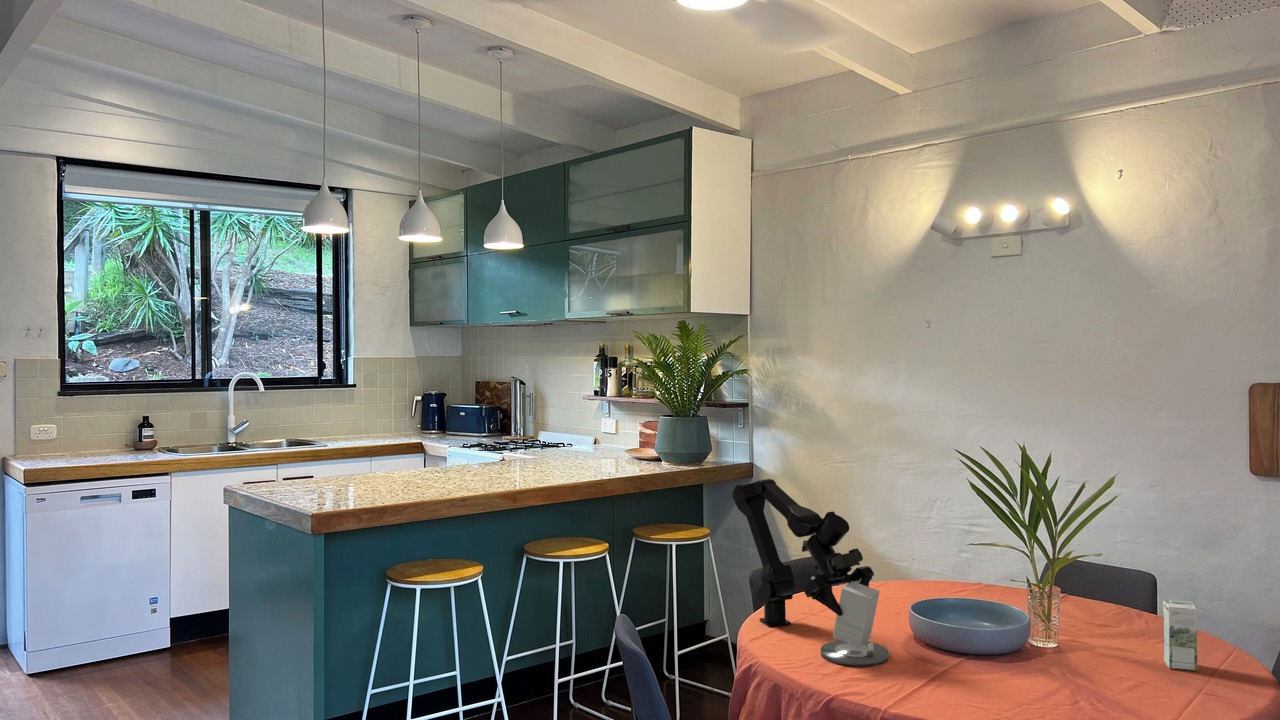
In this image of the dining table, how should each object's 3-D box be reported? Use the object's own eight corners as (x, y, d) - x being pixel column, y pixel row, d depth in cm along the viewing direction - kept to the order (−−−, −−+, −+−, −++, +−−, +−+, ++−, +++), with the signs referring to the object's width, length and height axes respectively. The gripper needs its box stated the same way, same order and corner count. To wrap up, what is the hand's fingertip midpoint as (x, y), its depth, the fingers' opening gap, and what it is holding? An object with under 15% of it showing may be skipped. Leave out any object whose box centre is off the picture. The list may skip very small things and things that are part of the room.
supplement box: (870, 639, 219) (881, 590, 217) (860, 648, 213) (871, 598, 211) (842, 628, 223) (852, 580, 221) (831, 636, 216) (841, 587, 215)
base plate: (807, 651, 220) (806, 633, 220) (856, 640, 228) (855, 622, 228) (852, 671, 206) (852, 652, 206) (903, 658, 214) (903, 639, 214)
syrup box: (1191, 663, 207) (1190, 600, 207) (1198, 672, 202) (1197, 607, 201) (1163, 660, 209) (1162, 598, 209) (1169, 669, 204) (1168, 605, 203)
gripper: (810, 543, 216) (843, 600, 207) (868, 533, 225) (902, 588, 216) (790, 568, 223) (820, 625, 214) (847, 558, 232) (878, 612, 223)
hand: (856, 611), depth 216 cm, fingers closed on supplement box, 9 cm apart
